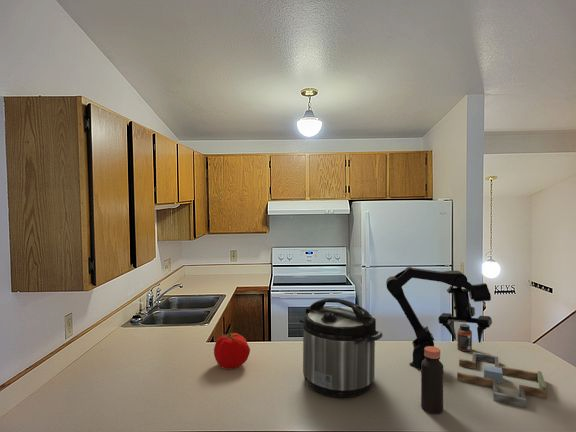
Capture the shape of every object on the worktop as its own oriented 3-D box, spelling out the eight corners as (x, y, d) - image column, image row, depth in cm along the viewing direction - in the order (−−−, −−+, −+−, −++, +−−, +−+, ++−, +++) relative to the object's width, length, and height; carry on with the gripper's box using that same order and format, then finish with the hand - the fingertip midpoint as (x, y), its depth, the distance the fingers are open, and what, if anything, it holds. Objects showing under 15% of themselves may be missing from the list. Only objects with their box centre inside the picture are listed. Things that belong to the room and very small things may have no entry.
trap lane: (455, 391, 127) (455, 382, 127) (460, 355, 157) (460, 347, 157) (551, 413, 114) (551, 402, 114) (537, 369, 143) (537, 360, 143)
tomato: (207, 370, 146) (207, 337, 146) (225, 356, 159) (225, 326, 159) (241, 376, 141) (240, 342, 140) (257, 361, 153) (256, 330, 153)
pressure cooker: (395, 393, 127) (395, 305, 126) (323, 410, 117) (323, 315, 116) (352, 358, 155) (351, 286, 154) (291, 370, 146) (290, 293, 144)
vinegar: (441, 417, 113) (441, 355, 112) (419, 410, 117) (419, 350, 116) (444, 406, 119) (445, 347, 118) (423, 400, 122) (423, 343, 121)
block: (484, 380, 136) (484, 370, 135) (483, 374, 140) (484, 364, 140) (502, 384, 133) (502, 373, 133) (501, 378, 137) (501, 367, 137)
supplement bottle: (473, 352, 160) (473, 327, 159) (459, 351, 161) (459, 327, 160) (469, 347, 166) (469, 323, 165) (455, 346, 167) (456, 322, 166)
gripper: (492, 298, 143) (497, 336, 143) (444, 296, 155) (449, 331, 155) (485, 306, 134) (491, 347, 135) (435, 303, 147) (441, 340, 147)
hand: (467, 340), depth 143 cm, fingers open, 9 cm apart
